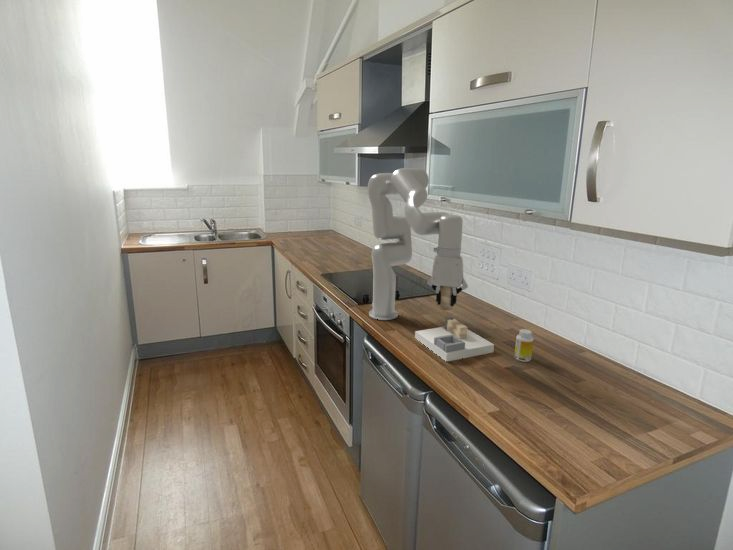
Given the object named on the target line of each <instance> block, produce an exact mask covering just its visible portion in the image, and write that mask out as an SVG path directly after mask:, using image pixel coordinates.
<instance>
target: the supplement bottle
mask: <svg viewBox="0 0 733 550" xmlns="http://www.w3.org/2000/svg"><path fill="white" fill-rule="evenodd" d="M534 341H535V340H534V337H533V332H532V331H531V330H529V329H526V328H523V329H519V333H518V334H517V335H516V339H515V348H514V354H513V355H514V358H515V360H516V361H519V362H524V363H525V362H526V363H527V362H530V361H531V360H532V356H533V355H532V354H533V348H534V347H533V346H534Z"/></svg>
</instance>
